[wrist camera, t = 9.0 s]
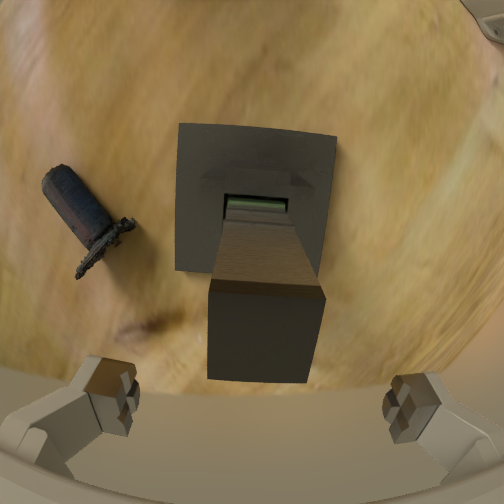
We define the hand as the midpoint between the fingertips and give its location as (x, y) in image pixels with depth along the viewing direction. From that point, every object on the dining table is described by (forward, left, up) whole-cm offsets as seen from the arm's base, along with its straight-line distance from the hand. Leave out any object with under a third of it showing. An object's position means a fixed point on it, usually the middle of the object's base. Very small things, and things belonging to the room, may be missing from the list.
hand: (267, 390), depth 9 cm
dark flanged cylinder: (+19, +2, -28) cm, 34 cm away
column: (0, 0, -20) cm, 20 cm away
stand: (0, 0, -28) cm, 28 cm away
